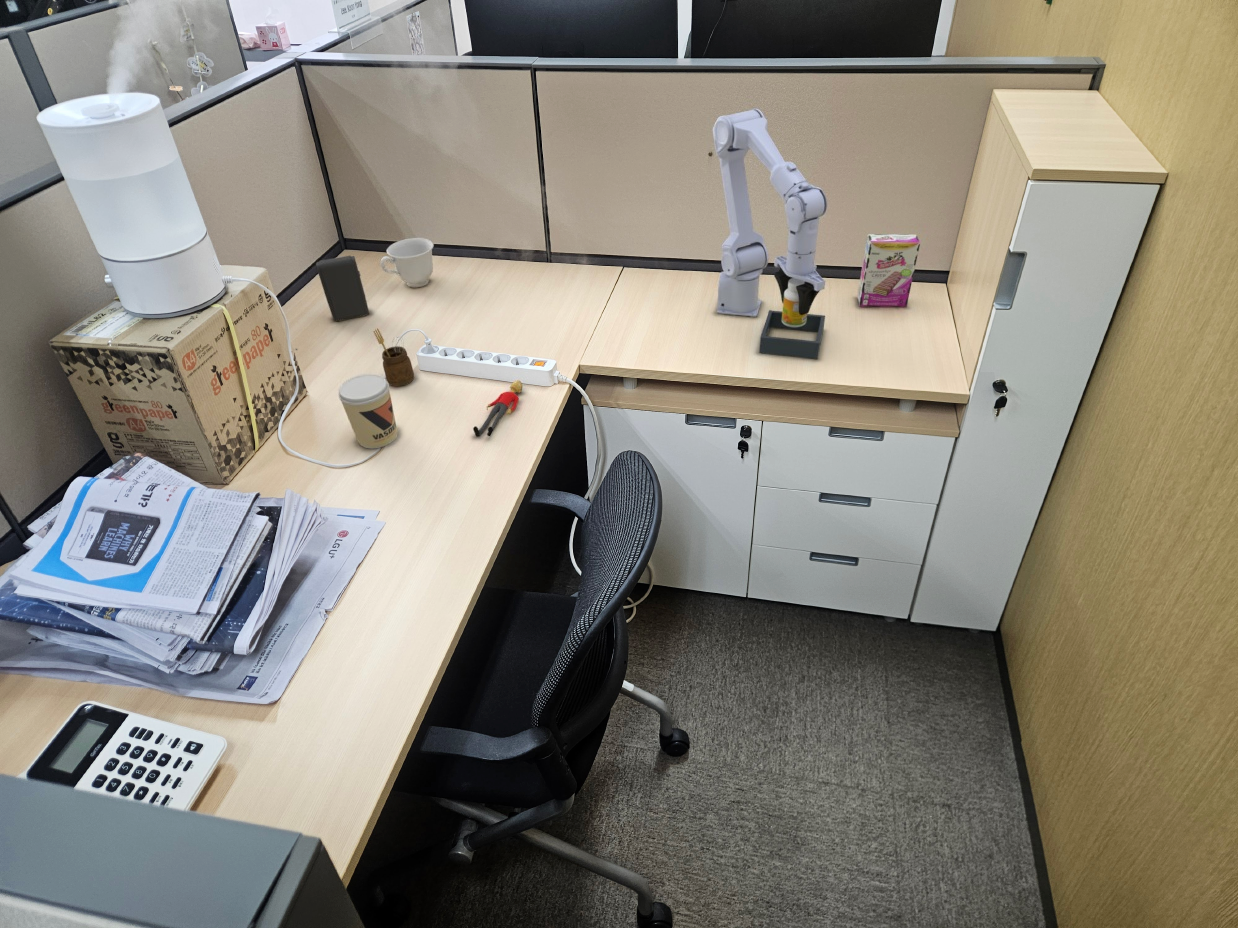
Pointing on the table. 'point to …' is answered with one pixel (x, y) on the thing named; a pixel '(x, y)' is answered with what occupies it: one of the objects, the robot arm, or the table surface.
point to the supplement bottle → (792, 305)
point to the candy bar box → (888, 270)
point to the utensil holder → (396, 363)
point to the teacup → (411, 260)
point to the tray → (791, 345)
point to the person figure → (500, 408)
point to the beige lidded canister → (369, 409)
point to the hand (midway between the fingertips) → (795, 308)
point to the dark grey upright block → (343, 287)
